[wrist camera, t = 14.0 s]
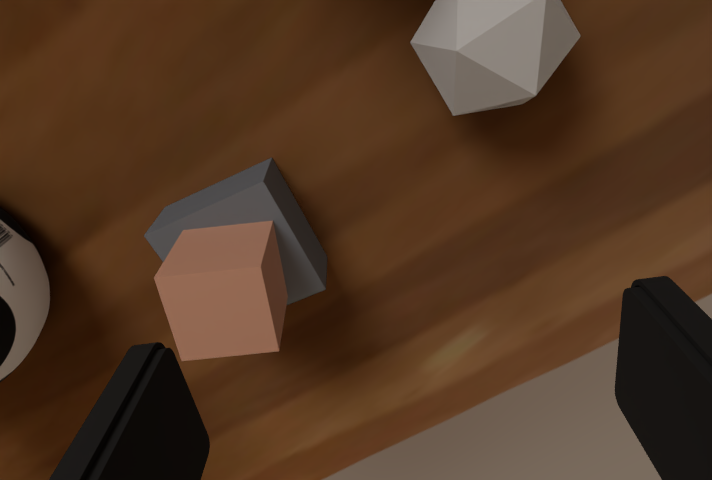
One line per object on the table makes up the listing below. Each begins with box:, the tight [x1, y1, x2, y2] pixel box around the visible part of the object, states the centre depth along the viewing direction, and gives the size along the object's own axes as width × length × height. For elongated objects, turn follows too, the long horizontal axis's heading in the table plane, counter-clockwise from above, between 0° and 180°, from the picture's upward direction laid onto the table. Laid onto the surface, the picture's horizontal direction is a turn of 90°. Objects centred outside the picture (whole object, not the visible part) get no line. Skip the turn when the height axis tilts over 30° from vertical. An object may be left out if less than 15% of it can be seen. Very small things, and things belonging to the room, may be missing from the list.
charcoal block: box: [144, 158, 327, 305], centre depth 38 cm, size 9×9×5 cm
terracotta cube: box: [154, 221, 288, 361], centre depth 33 cm, size 6×6×6 cm
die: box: [410, 0, 581, 116], centre depth 30 cm, size 8×9×10 cm
